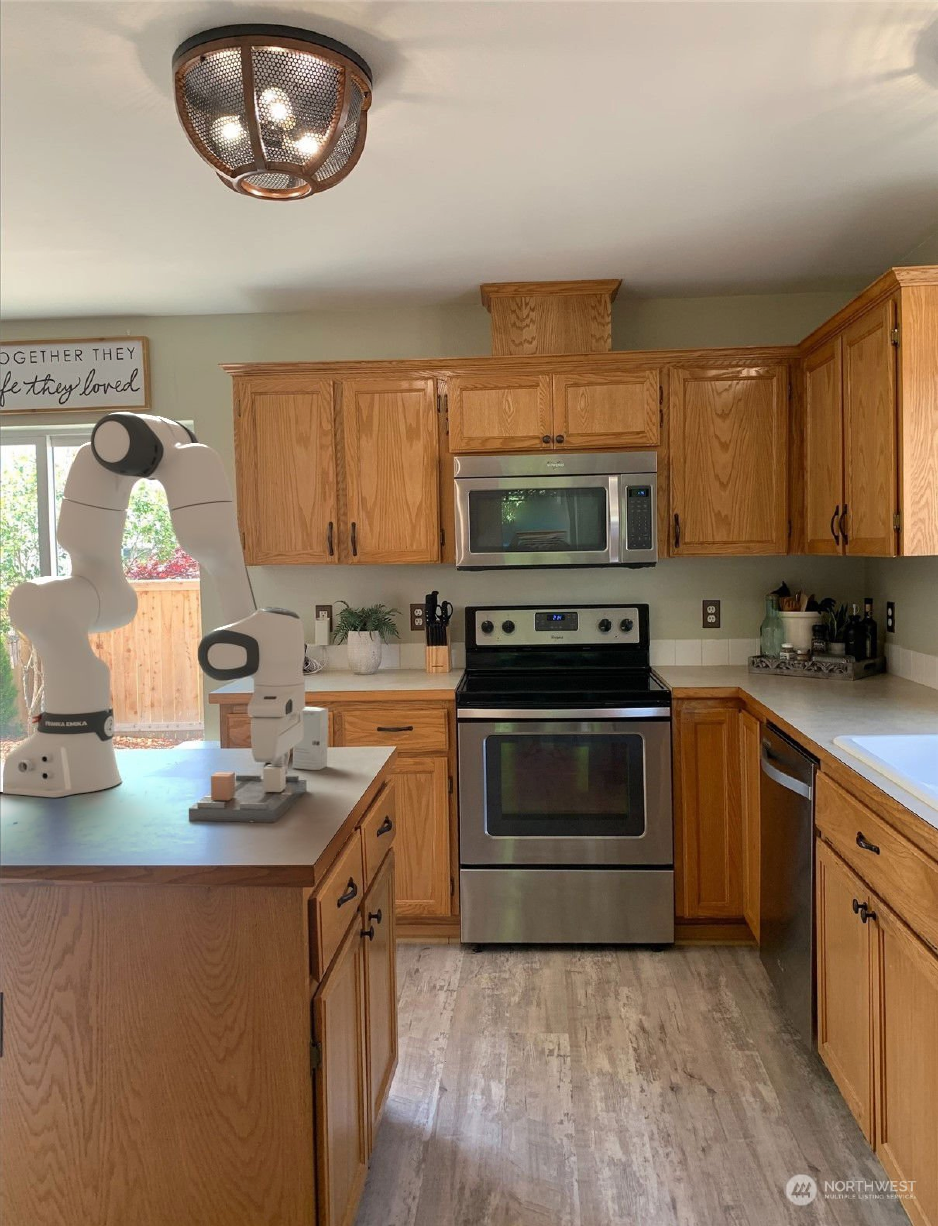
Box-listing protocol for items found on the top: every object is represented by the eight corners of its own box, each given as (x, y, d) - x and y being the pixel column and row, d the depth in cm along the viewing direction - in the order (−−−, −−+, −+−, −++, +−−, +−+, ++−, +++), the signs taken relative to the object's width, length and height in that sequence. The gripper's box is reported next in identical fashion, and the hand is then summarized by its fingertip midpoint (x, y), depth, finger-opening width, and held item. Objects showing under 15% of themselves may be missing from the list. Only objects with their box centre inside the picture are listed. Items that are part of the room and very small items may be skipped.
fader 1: (211, 799, 148) (210, 775, 148) (217, 795, 151) (217, 771, 151) (228, 800, 148) (228, 775, 148) (234, 795, 151) (234, 771, 151)
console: (188, 820, 144) (188, 803, 144) (231, 789, 164) (231, 773, 164) (274, 822, 143) (273, 805, 143) (306, 790, 163) (306, 775, 163)
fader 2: (263, 791, 154) (263, 768, 154) (268, 787, 157) (268, 764, 157) (280, 791, 154) (280, 768, 153) (285, 787, 157) (285, 764, 156)
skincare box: (291, 769, 180) (291, 709, 180) (301, 764, 185) (301, 705, 184) (320, 770, 179) (319, 710, 178) (329, 765, 183) (328, 707, 182)
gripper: (278, 690, 168) (279, 763, 169) (243, 708, 148) (244, 790, 149) (311, 691, 168) (312, 763, 169) (281, 708, 148) (282, 791, 148)
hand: (280, 776), depth 159 cm, fingers closed
